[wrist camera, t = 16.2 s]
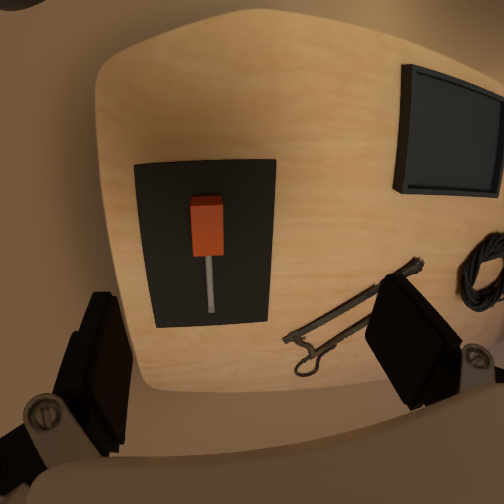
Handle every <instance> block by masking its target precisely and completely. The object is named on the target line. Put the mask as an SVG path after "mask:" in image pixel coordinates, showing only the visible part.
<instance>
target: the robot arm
mask: <svg viewBox="0 0 504 504" xmlns="http://www.w3.org/2000/svg"><path fill="white" fill-rule="evenodd" d="M365 339H366V341H367V343H368V345H369V346H370V348H371V350H372V351H373V353H374V355H375V356H376V358H377V360H378V361H379V363H380V365H381V366H382V368H383V370H384V371H385V373H386V375H387V376H388V378H389V380H390V381H391V383H392V385H393V386H394V388H395V390H396V392H397V393H398V395H399V397H400V398H401V400H402V402H403V403H404V404H406V405H407V406H408V407H409V409H410V411H412V410H415V409H418V408H420V407H422V406H423V404H424V405H425V407H424V408H421V409H419V410H416V411H413V412H410V413H408V414H405V415H402V416H399V417H396V418H393V419H390V420H387V421H384V422H380V423H377V424H374V425H370V426H367V427H364V428H360V429H357V430H352V431H349V432H345V433H341V434H337V435H333V436H328V437H324V438H320V439H315V440H311V441H305V442H301V443H295V444H289V445H284V446H278V447H271V448H264V449H257V450H250V451H241V452H232V453H221V454H207V455H190V456H162V457H160V456H159V457H142V456H140V457H109V452H114V453H119V444H124V441H125V430H126V419H127V407H128V397H129V388H130V381H131V373H132V364H133V356H132V351H131V348H130V345H129V341H128V337H127V334H126V330H125V327H124V323H123V319H122V315H121V311H120V307H119V303H118V299H117V297H116V296H112V294H111V293H110V292H93V294H92V297H91V299H90V301H89V304H88V307H87V309H86V312H85V314H84V317H83V320H82V323H81V325H80V328H79V331H74V332H73V333H72V335H71V337H70V340H69V343H68V346H67V348H66V352H65V355H64V358H63V360H62V363H61V366H60V369H59V373H58V376H57V379H56V382H55V386H54V389H53V392H52V394H50V393H44V394H40V395H37V396H35V397H34V398H32V399H31V400H30V401H29V402H28V403H27V404H26V406H25V408H24V411H23V421H24V423H23V424H22V425H20V426H19V427H17V428H15V429H14V430H12V431H11V432H9V433H8V434H6V435H5V436H3V437H1V438H0V504H504V369H501V368H498V367H495V366H494V360H493V357H492V356H491V354H490V353H489V351H487V349H485V348H484V347H482V346H480V345H478V344H467V345H465V346H464V347H463V349H461V348H460V347H459V346H460V345H461V343H462V340H461V338H460V337H459V336H458V335H457V334H456V332H455V331H454V330H453V329H452V328H451V327H450V325H449V324H448V323H447V322H446V321H445V320H444V319H443V317H442V316H441V315H440V314H439V313H438V312H437V311H436V310H435V308H434V307H433V306H432V305H431V304H430V303H429V302H428V301H427V300H426V299H425V298H424V296H423V295H422V294H421V293H420V292H419V291H418V290H417V289H416V288H415V287H414V286H413V285H412V284H411V283H410V281H409V280H408V279H407V278H406V277H405V276H404V275H403V274H401V273H396V274H388V275H386V276H385V278H384V279H383V280H382V281H381V284H380V287H379V291H378V294H377V298H376V301H375V304H374V307H373V310H372V314H371V317H370V320H369V323H368V326H367V329H366V332H365Z"/></svg>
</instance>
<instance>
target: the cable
mask: <svg viewBox="0 0 504 504" xmlns="http://www.w3.org/2000/svg"><path fill="white" fill-rule="evenodd" d="M503 256H504V235H500V234H496V235H494V236H493V237H492V238H491V239H490V241H487V242H485V243H484V244H483V245H482V247H480V248H479V249H478V250H477V251H476V252H475V254H473V255H472V256H471V258H470V259H469V260H468V261H467V262H466V263H465V265H464V274H463V276H462V279H461V291H462V298H463V301H464V303H465V305H466V306H467V307H469V308H470V309H472V310H473V311H476V312H483V311H485V310H487V309H489V308H490V307H493V306H494V304H495V303H496V302H500V301H503V300H504V297H503V298H502V299H500V297H501V296H502V294H504V274H503V276H502V277H501V279H500V282H499V284H498V286H497V287H496V288H488V289H484V290H482V291H481V293H475V291H474V290H473V288H472V287H473V285H474V283H475V281H476V278H477V275H478V272H479V268H480V265H481V263H482V262H486V261H490V260H493V259H496V258H499V257H503Z"/></svg>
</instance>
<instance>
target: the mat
mask: <svg viewBox="0 0 504 504" xmlns="http://www.w3.org/2000/svg"><path fill="white" fill-rule="evenodd" d="M134 176H135V187H136V198H137V207H138V216H139V225H140V233H141V240H142V247H143V254H144V261H145V268H146V274H147V280H148V286H149V292H150V297H151V303H152V308H153V313H154V318H155V323H156V328H167V327H191V326H209V325H225V324H240V323H253V322H265V321H267V319H268V304H269V289H270V273H271V256H272V238H273V220H274V200H275V180H276V160H273V159H246V160H204V161H182V162H165V163H151V164H138V165H134ZM215 195H221V197H222V202H223V229H224V255H217V256H212V270H213V290H214V308H215V312H214V313H209V311H208V297H207V281H206V264H205V256H197V257H194V256H193V246H192V230H191V212H190V203H191V197H192V196H215Z"/></svg>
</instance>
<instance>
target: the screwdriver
mask: <svg viewBox="0 0 504 504" xmlns="http://www.w3.org/2000/svg"><path fill="white" fill-rule="evenodd" d="M190 212H191V230H192V246H193V256H194V257H197V256H205V264H206V281H207V297H208V311H209V313H214V312H215V308H214V290H213V270H212V256H217V255H224V229H223V202H222V197H221V195H215V196H192V197H191V203H190Z"/></svg>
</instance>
